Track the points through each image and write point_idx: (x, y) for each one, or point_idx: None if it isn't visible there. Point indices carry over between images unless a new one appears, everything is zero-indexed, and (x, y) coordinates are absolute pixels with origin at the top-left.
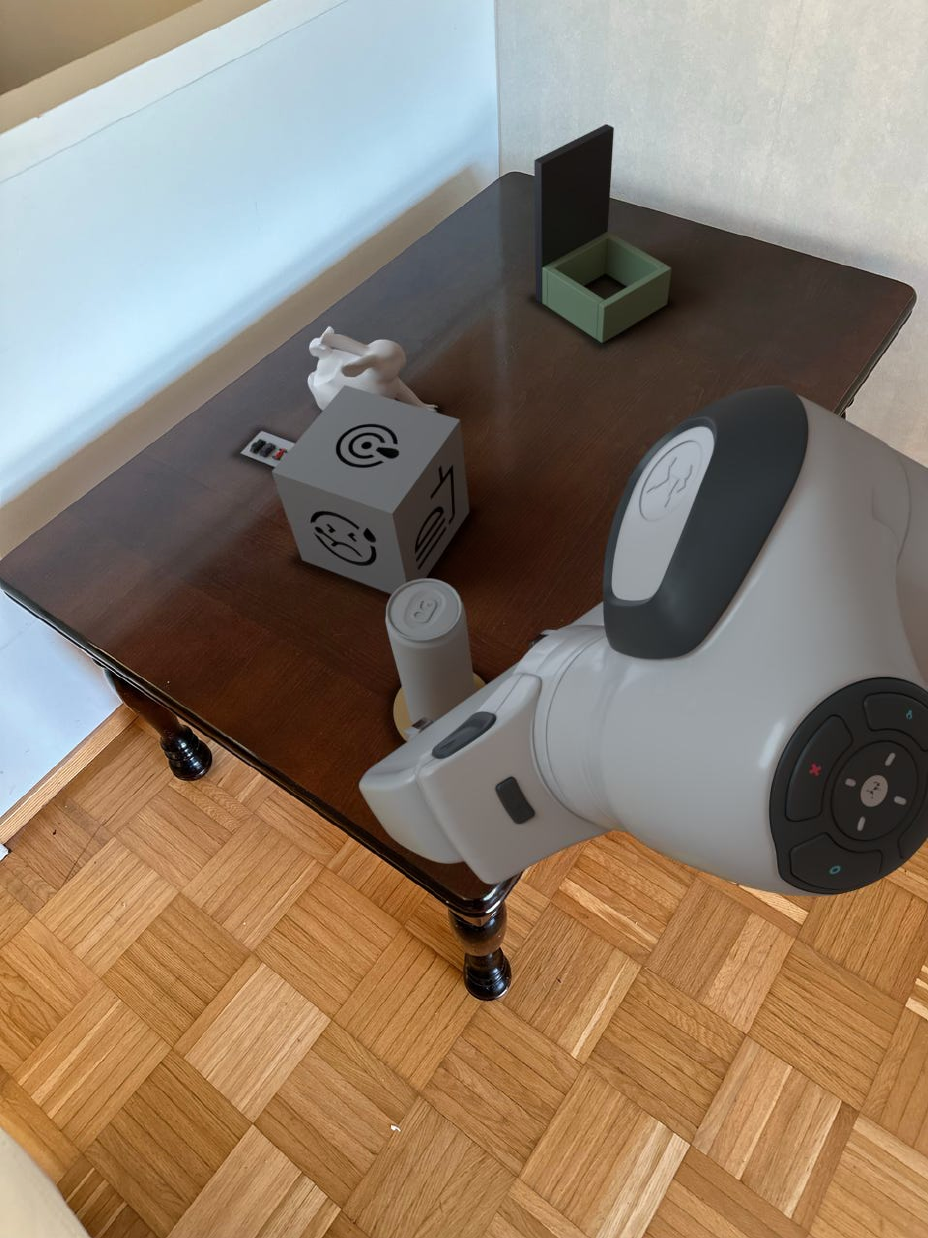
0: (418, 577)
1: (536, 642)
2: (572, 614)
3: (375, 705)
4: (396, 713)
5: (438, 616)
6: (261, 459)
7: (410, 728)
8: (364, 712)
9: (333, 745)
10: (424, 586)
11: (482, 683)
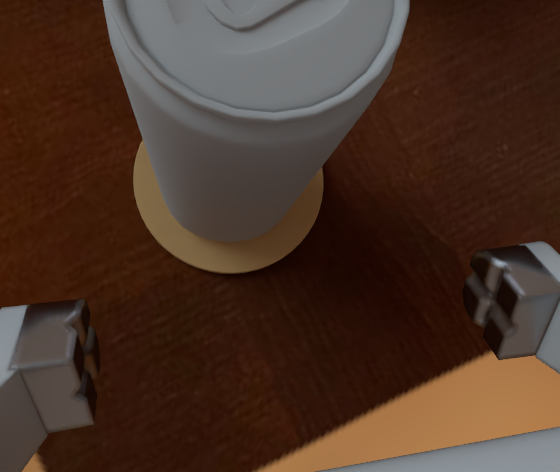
0: None
1: (513, 281)
2: (526, 147)
3: (126, 100)
4: None
5: (293, 37)
6: None
7: (11, 323)
8: (101, 101)
9: (13, 127)
10: None
11: (319, 177)
